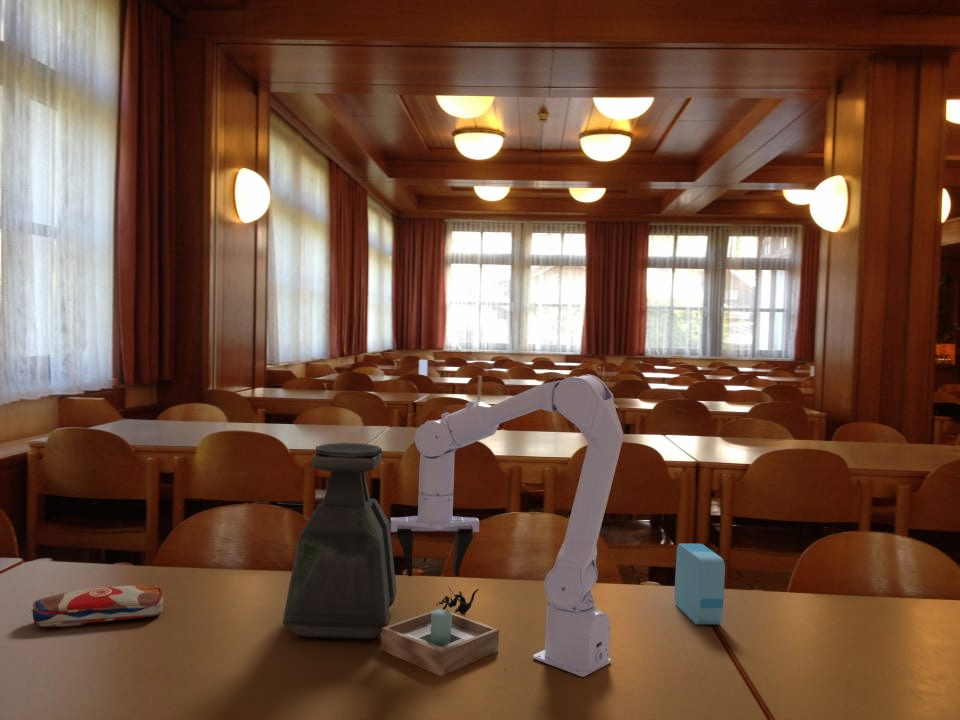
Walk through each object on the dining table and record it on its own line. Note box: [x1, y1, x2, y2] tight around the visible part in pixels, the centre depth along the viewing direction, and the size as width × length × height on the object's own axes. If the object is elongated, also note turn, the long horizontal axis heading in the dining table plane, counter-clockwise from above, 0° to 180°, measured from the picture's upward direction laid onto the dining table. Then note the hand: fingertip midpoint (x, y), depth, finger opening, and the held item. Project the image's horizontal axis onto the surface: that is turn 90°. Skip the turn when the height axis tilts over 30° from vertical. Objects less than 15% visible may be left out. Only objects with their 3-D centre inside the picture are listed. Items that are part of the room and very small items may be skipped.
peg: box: [430, 609, 453, 647], centre depth 124 cm, size 3×3×6 cm
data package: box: [674, 543, 726, 625], centre depth 145 cm, size 12×4×12 cm, turn 6°
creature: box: [435, 587, 480, 617], centre depth 141 cm, size 8×5×8 cm
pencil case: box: [30, 585, 165, 628], centre depth 132 cm, size 11×20×5 cm, turn 99°
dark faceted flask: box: [282, 442, 398, 640], centre depth 133 cm, size 18×16×30 cm
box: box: [380, 607, 500, 677], centre depth 124 cm, size 13×13×4 cm
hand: (432, 574), depth 131 cm, fingers open, 7 cm apart
